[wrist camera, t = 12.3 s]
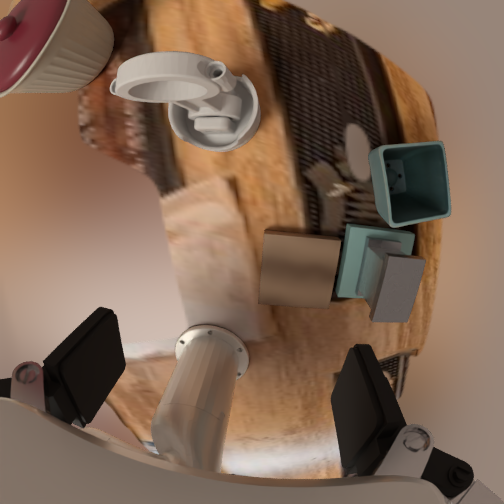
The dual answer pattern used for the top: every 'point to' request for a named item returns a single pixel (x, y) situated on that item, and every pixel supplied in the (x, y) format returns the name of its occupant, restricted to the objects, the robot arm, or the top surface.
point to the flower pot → (410, 182)
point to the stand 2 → (354, 253)
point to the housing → (388, 279)
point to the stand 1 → (298, 269)
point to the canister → (52, 46)
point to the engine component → (194, 97)
